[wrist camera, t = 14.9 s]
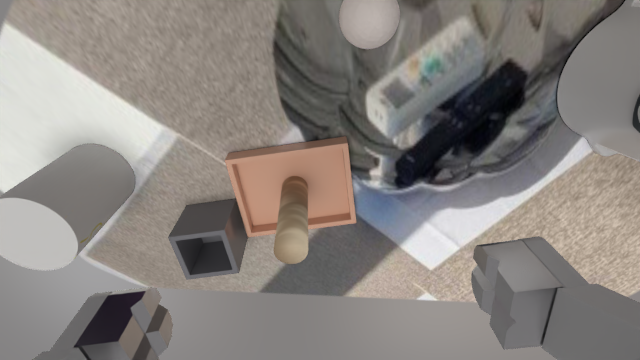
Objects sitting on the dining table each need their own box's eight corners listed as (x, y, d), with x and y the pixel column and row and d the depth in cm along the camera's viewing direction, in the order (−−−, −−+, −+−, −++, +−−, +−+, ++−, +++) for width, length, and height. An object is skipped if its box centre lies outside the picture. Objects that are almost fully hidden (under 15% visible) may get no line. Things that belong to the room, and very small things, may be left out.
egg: (361, 55, 36) (373, 68, 29) (325, 15, 34) (329, 20, 27) (400, 14, 34) (423, 19, 27) (364, -30, 32) (380, -36, 26)
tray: (345, 136, 40) (347, 143, 38) (354, 213, 45) (356, 222, 43) (228, 152, 41) (224, 160, 39) (250, 227, 46) (247, 237, 44)
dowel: (305, 174, 42) (305, 234, 31) (309, 196, 43) (310, 261, 33) (279, 177, 42) (270, 239, 31) (284, 199, 43) (277, 265, 33)
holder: (235, 198, 44) (224, 229, 38) (247, 238, 47) (238, 272, 41) (186, 205, 44) (168, 237, 38) (201, 244, 47) (186, 279, 41)
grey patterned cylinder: (83, 207, 44) (12, 275, 33) (50, 149, 40) (-43, 205, 29) (145, 198, 43) (93, 264, 33) (118, 139, 39) (49, 191, 29)
